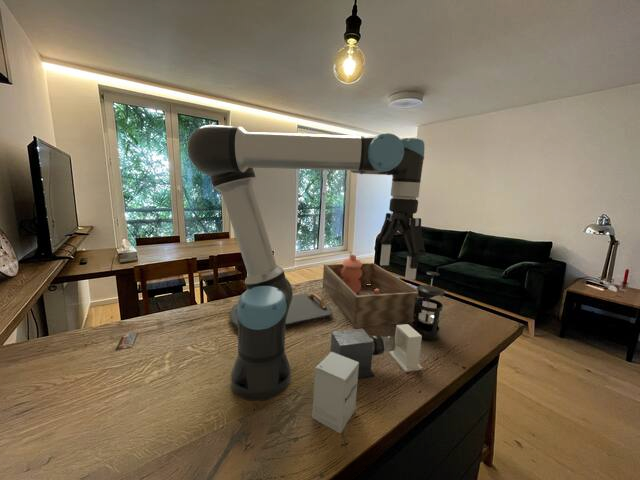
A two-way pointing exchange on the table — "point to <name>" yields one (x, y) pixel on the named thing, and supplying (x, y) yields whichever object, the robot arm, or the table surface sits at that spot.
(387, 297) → the box
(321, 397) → the supplement box
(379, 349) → the rod
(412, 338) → the socket
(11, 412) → the table surface
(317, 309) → the serving board
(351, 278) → the ceramic vessels
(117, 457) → the table surface
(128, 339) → the chocolate bar
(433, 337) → the french press
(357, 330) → the dark grey block
